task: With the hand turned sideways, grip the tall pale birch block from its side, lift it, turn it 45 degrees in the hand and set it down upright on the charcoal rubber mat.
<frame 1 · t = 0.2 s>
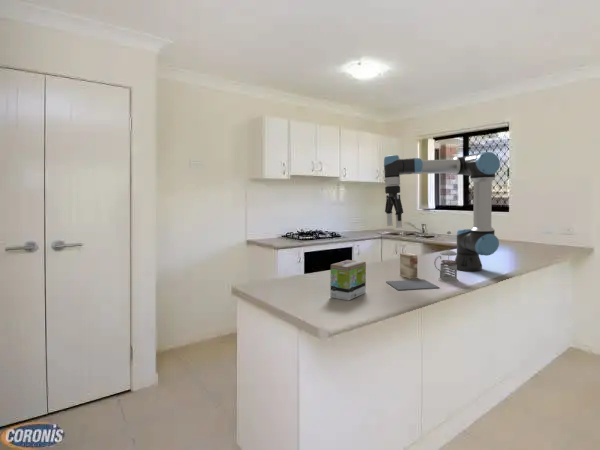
hand: (394, 226, 189), 27 cm above the worktop, tool pointing down, fingers open, 13 cm apart
french press: (446, 280, 184), on the worktop
mat: (411, 285, 176), on the worktop
birch block: (408, 276, 194), on the worktop
tea box: (348, 295, 161), on the worktop
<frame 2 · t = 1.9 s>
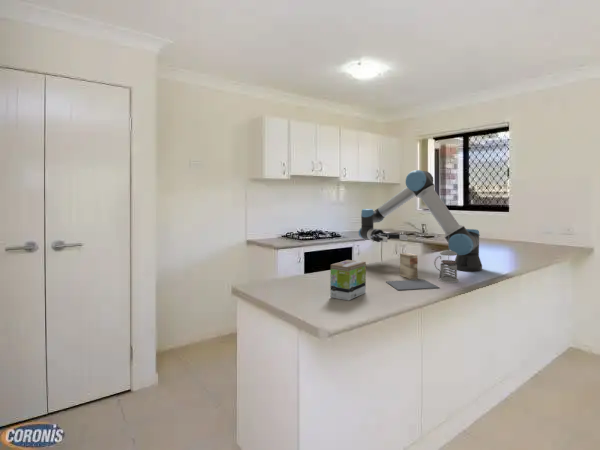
hand: (397, 239, 202), 19 cm above the worktop, tool horizontal, fingers open, 13 cm apart
nothing on the worktop moved.
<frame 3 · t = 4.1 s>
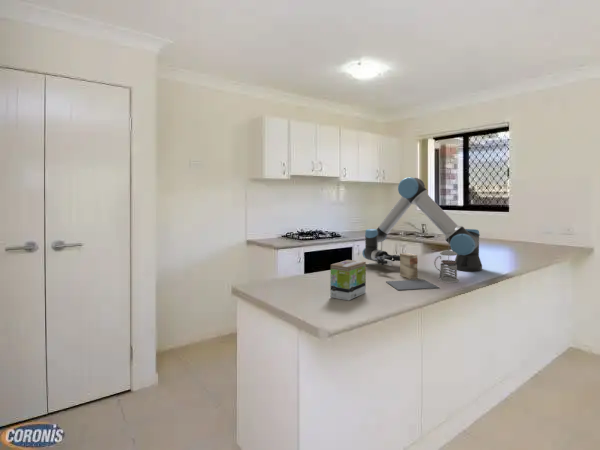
hand: (402, 262, 198), 7 cm above the worktop, tool horizontal, fingers open, 13 cm apart
nothing on the worktop moved.
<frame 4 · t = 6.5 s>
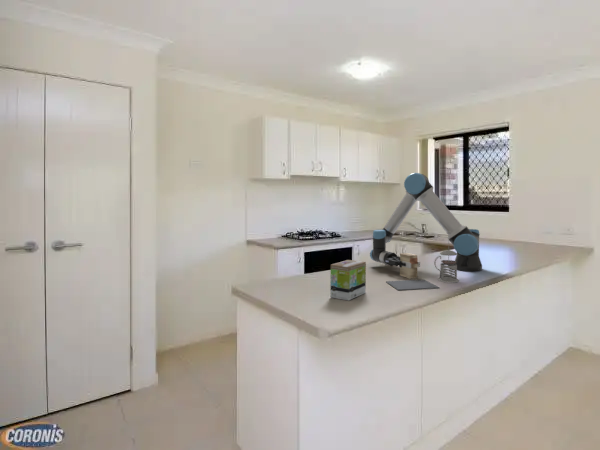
hand: (415, 265, 189), 7 cm above the worktop, tool horizontal, fingers closed on birch block, 5 cm apart
birch block: (408, 276, 194), on the worktop, touching gripper
everything else where it was.
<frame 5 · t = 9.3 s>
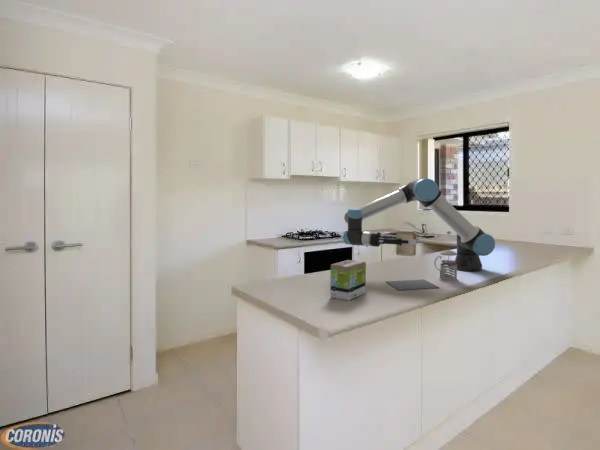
hand: (417, 241, 176), 21 cm above the worktop, tool horizontal, fingers closed on birch block, 5 cm apart
birch block: (406, 254, 180), point 14 cm above the worktop, touching gripper
everything else where it was.
when the fingers open (9 cm above the worktop, at t = 12.2 s): birch block drops 1 cm, resting on mat.
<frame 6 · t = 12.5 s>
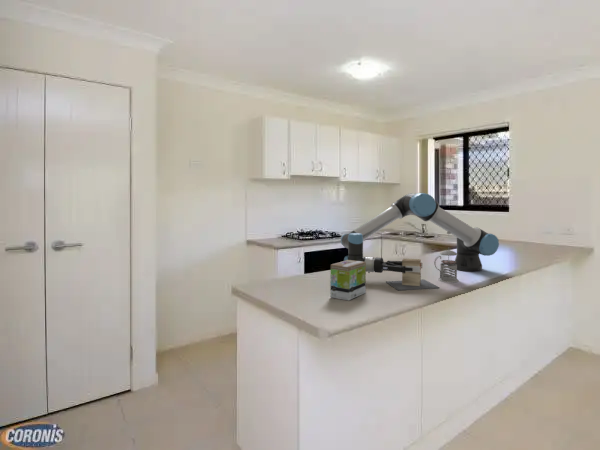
hand: (421, 267, 173), 9 cm above the worktop, tool horizontal, fingers open, 9 cm apart
birch block: (411, 284, 176), resting on mat
everything else where it was.
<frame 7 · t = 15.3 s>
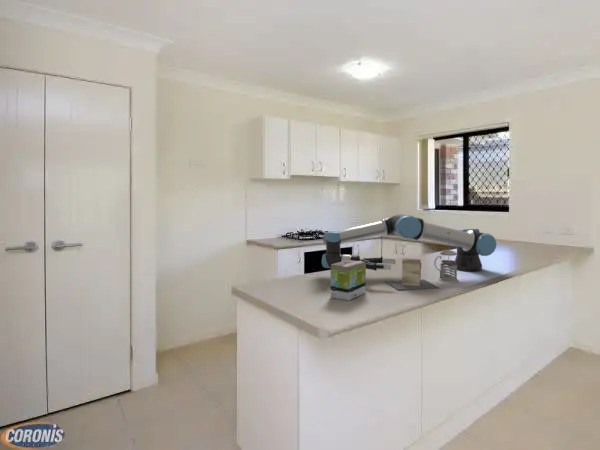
hand: (393, 264, 179), 10 cm above the worktop, tool horizontal, fingers open, 13 cm apart
nothing on the worktop moved.
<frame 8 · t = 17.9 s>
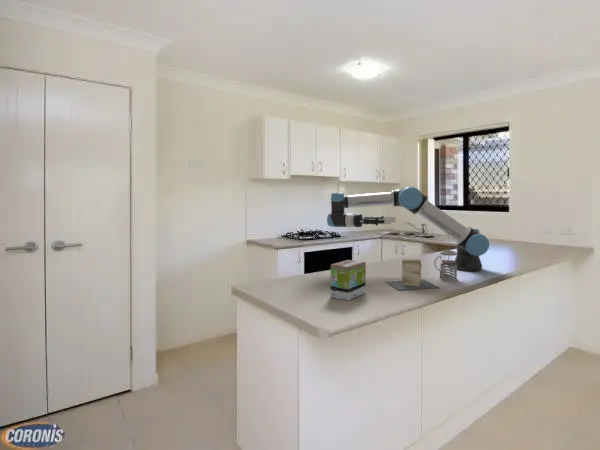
hand: (393, 220, 194), 30 cm above the worktop, tool horizontal, fingers open, 13 cm apart
nothing on the worktop moved.
at the end: birch block inside the target area on the mat (0.1 cm from its centre), point 0.5 cm above the mat's base; birch block tilted 0°; the gripper is holding nothing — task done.
